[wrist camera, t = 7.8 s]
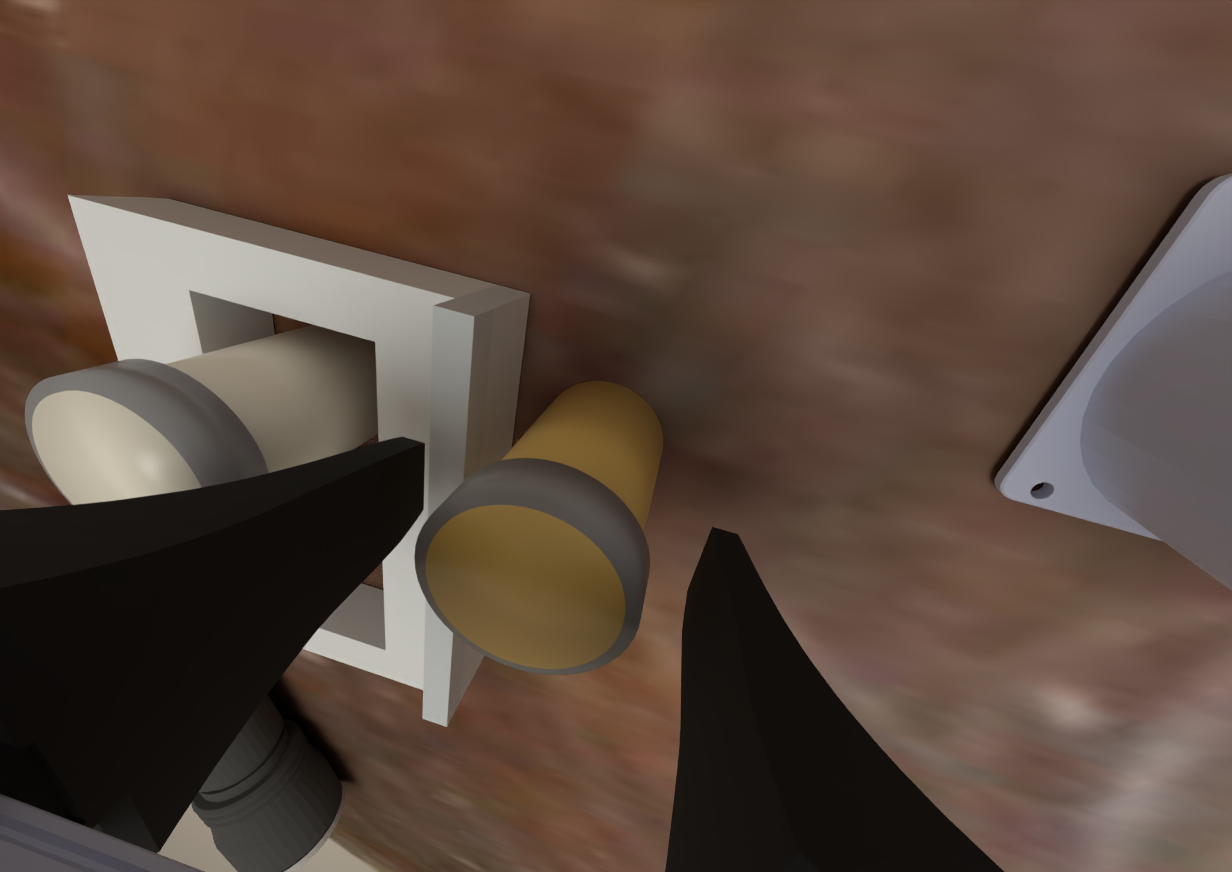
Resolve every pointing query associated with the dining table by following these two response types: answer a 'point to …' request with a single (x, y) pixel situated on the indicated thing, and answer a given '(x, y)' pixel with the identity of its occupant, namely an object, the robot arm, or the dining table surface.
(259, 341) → the cream grey-rimmed peg
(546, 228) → the dining table surface
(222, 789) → the flashlight
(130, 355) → the housing
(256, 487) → the robot arm
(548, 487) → the yellow cylinder grey rim
